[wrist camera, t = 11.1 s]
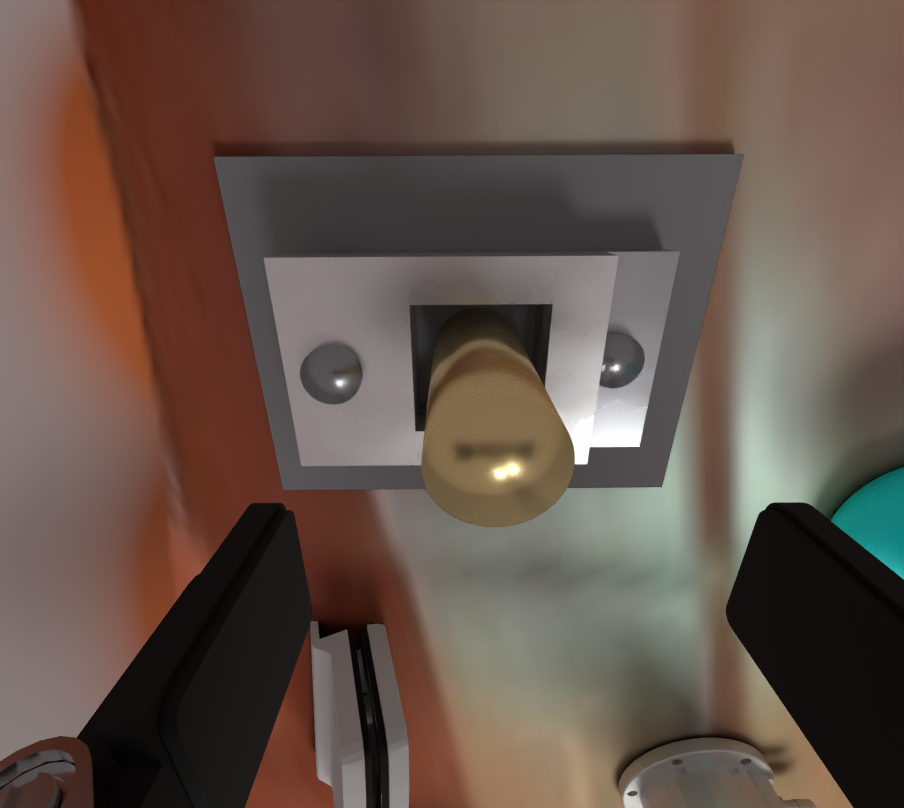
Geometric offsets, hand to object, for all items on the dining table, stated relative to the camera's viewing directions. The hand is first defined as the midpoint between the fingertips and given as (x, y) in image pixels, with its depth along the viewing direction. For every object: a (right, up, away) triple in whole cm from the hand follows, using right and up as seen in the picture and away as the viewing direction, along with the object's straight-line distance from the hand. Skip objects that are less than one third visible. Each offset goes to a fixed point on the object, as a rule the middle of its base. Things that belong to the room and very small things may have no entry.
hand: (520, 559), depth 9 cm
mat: (0, +6, +12) cm, 13 cm away
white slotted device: (-8, -19, +24) cm, 31 cm away
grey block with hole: (0, +6, +11) cm, 13 cm away
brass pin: (0, +6, +11) cm, 13 cm away
